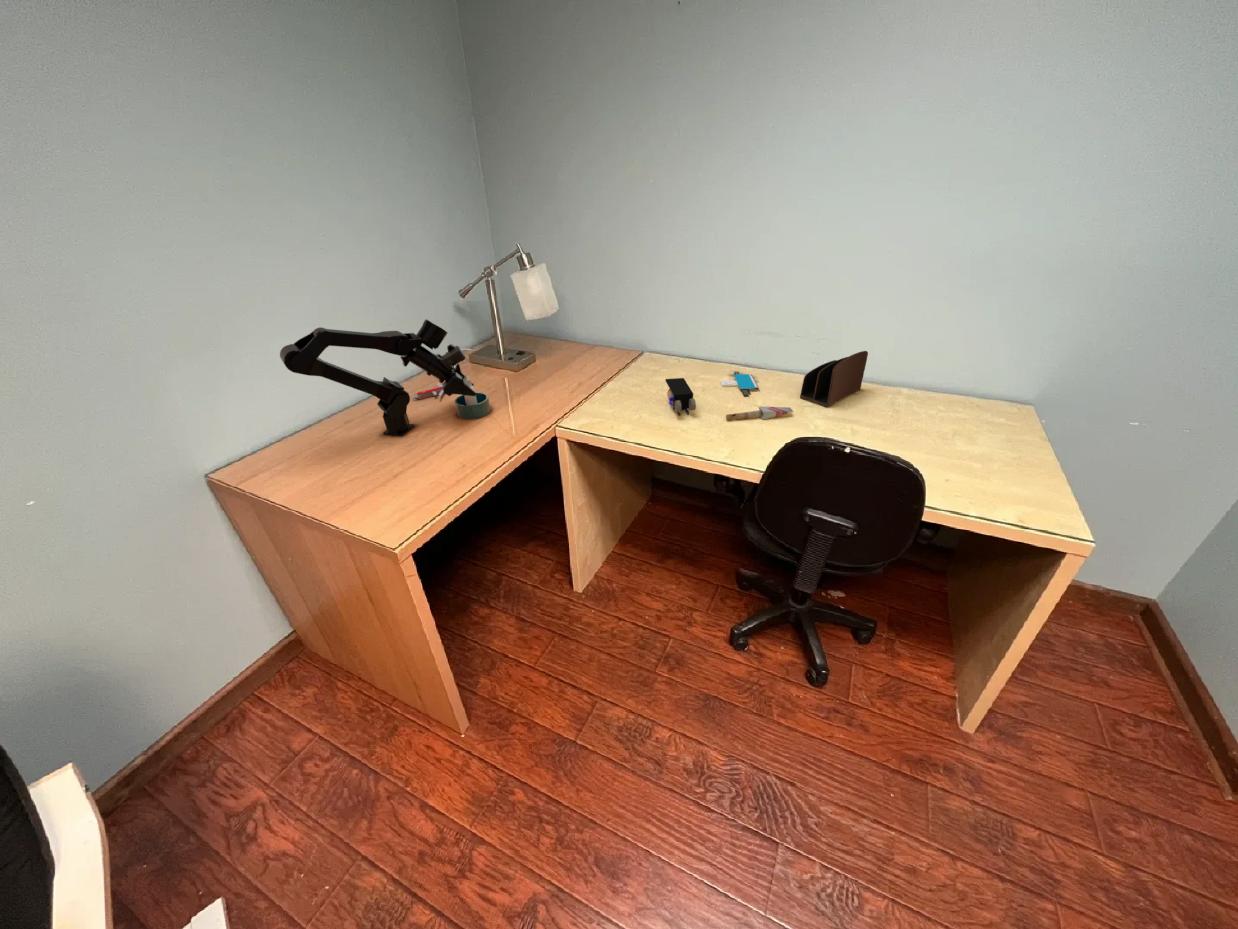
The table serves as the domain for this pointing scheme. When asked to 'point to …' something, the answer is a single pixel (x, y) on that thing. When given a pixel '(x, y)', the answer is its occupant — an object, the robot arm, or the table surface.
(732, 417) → the paintbrush
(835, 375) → the letter holder
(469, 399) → the eye dropper bottle
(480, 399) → the teal bowl
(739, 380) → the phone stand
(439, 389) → the swiss army knife
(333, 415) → the table surface
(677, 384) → the black block with wheels
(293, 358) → the robot arm
